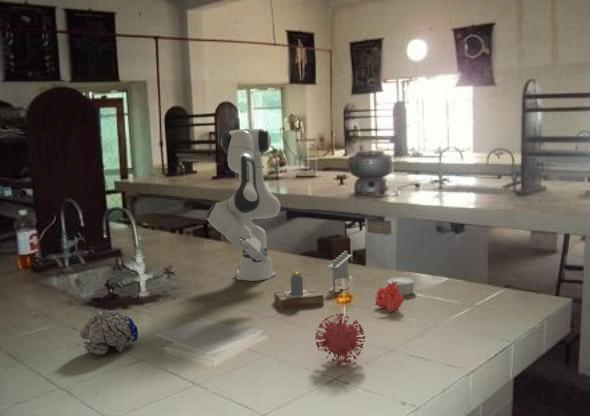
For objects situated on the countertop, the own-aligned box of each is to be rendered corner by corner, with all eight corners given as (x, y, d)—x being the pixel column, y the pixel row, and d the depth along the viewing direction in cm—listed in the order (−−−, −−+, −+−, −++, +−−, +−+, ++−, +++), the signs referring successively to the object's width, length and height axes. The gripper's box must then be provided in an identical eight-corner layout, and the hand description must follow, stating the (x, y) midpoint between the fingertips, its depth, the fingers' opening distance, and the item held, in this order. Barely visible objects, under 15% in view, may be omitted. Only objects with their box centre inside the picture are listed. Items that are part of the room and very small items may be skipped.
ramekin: (386, 296, 256) (385, 283, 256) (388, 289, 267) (388, 276, 266) (414, 297, 254) (413, 284, 253) (415, 289, 264) (415, 277, 264)
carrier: (291, 291, 254) (290, 273, 253) (302, 291, 254) (301, 273, 253) (291, 295, 248) (290, 277, 247) (303, 295, 248) (302, 276, 247)
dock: (274, 302, 255) (274, 292, 254) (314, 297, 260) (313, 287, 259) (282, 310, 244) (281, 299, 243) (323, 304, 248) (323, 294, 248)
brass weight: (293, 275, 251) (292, 271, 251) (299, 275, 251) (299, 271, 251) (292, 277, 249) (292, 273, 248) (299, 277, 248) (299, 273, 248)
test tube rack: (343, 277, 290) (342, 249, 288) (353, 278, 288) (352, 249, 286) (328, 292, 266) (327, 261, 264) (338, 292, 265) (337, 262, 263)
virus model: (306, 363, 189) (304, 316, 187) (339, 349, 199) (337, 304, 197) (343, 376, 179) (341, 326, 177) (375, 361, 189) (374, 313, 187)
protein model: (378, 309, 244) (381, 279, 245) (406, 314, 237) (409, 283, 238) (367, 309, 237) (370, 278, 238) (395, 314, 230) (399, 282, 231)
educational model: (138, 364, 210) (151, 320, 214) (95, 357, 194) (109, 309, 198) (109, 356, 218) (122, 313, 221) (65, 348, 201) (79, 302, 205)
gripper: (244, 234, 236) (272, 258, 238) (246, 225, 256) (272, 247, 258) (233, 247, 237) (261, 270, 238) (236, 236, 257) (261, 258, 259)
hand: (266, 258), depth 248 cm, fingers open, 8 cm apart
